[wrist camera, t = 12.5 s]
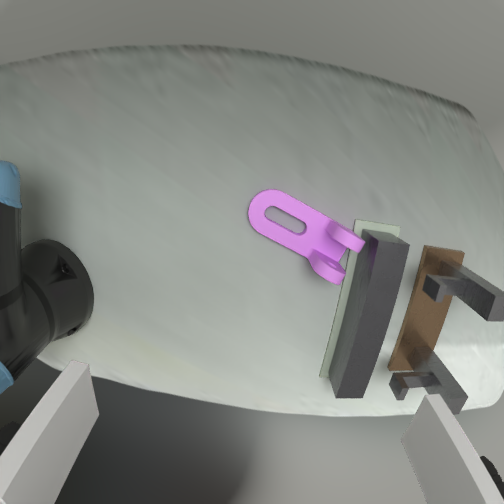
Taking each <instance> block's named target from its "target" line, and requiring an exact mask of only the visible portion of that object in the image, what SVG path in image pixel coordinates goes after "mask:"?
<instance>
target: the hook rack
mask: <svg viewBox="0 0 504 504" xmlns="http://www.w3.org/2000/svg"><path fill="white" fill-rule="evenodd" d="M464 254H465V253H464V252H462V251H458V250H452V249H445V248H439V247H433V246H427V245H424V249H423V253H422V257H421V261H420V265H419V269H418V273H417V277H416V281H415V284H414V288H413V291H412V295H411V298H410V302H409V305H408V308H407V312H406V315H405V318H404V321H403V324H402V327H401V330H400V333H399V336H398V339H397V342H396V345H395V348H394V351H393V353H392V356H391V359H390V362H389V364H388V369H389V371H400V370H413V371H414V372H402V373H393V375H392V378H391V380H390V383H389V386H390V387H391V389H392V391H393V393H394V395H395V397H396V399H397V400H404V398H405V396H406V394H407V391H408V389H409V388H415V387H424V388H425V389H426V391H427V393H428V394H429V395H432V394H440V396H441V397H442V399H443V400H444V402H445V403H446V405H447V406H448V408H449V409H450V411H451V412H452V414H453V415H454V414H459V412H460V411H461V409H462V407H463V406H464V404H465V402H466V400H467V398H468V396H467V394H466V393H465V392H464V390H463V389H462V388H461V386H460V385H459V384H458V382H457V381H456V380H455V378H454V377H453V376H452V374H451V373H450V372H449V370H448V369H447V368H446V367H445V365H444V364H443V363H442V361H441V360H440V359H439V358H438V356H437V355H436V354H435V353H434V351H433V350H434V347H435V345H436V342H437V340H438V337H439V334H440V332H441V329H442V326H443V323H444V321H445V318H446V315H447V312H448V309H449V306H450V303H451V300H452V296H453V295H454V296H457V297H458V298H460V299H461V300H462V301H463V302H465V303H466V304H467V305H468V306H469V307H471V308H472V309H473V310H474V311H476V312H477V313H478V314H479V315H480V316H481V317H483V318H484V319H485V320H486V321H503V320H504V292H503V291H502V290H500V289H499V288H497V287H496V286H494V285H493V284H491V283H489V282H488V281H486V280H485V279H483V278H482V277H480V276H479V275H477V274H475V273H474V272H472V271H471V270H469V269H467V268H466V267H464V266H463V265H462V262H463V258H464Z"/></svg>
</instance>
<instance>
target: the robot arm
mask: <svg viewBox="0 0 504 504" xmlns="http://www.w3.org/2000/svg"><path fill="white" fill-rule="evenodd" d="M21 208H22V204H21V203H20V174H19V171H18V169H17V167H16V166H15V165H14V164H12V163H10V162H7V161H2V160H0V394H1V393H2V392H3V391H4V390H5V389H6V388H7V387H10V386H11V385H13V383H14V381H15V380H16V379H17V378H18V377H19V376H20V374H21V373H22V372H23V371H24V370H25V369H26V368H27V367H28V366H29V365H30V363H31V362H32V361H33V360H34V359H35V358H36V357H37V356H38V355H39V354H40V352H41V351H42V350H43V349H44V348H45V347H46V346H47V345H48V344H49V343H50V342H52V341H55V340H58V339H61V338H64V337H67V336H69V335H72V334H74V333H75V332H77V331H78V330H79V329H80V328H81V327H82V326H83V325H84V324H85V323H86V322H87V321H88V319H89V317H90V315H91V313H92V309H93V299H94V298H93V289H92V285H91V281H90V278H89V276H88V273H87V271H86V269H85V268H84V266H83V264H82V263H81V261H80V260H79V259H78V257H77V256H76V255H75V254H74V253H73V252H72V251H71V250H70V249H68V248H67V247H66V246H64V245H62V244H61V243H59V242H56V241H53V240H38V241H36V242H34V243H31V244H29V245H27V246H26V247H24V248H23V249H22V250H21V235H20V212H21ZM98 416H99V412H98V408H97V404H96V399H95V395H94V390H93V385H92V380H91V374H90V369H89V364H85V363H81V362H78V361H74V360H71V362H70V363H69V364H68V365H67V367H66V368H65V369H64V370H63V372H62V373H61V374H60V375H59V377H58V378H57V379H56V381H55V382H54V383H53V384H52V386H51V387H50V388H49V390H48V391H47V392H46V394H45V395H44V396H43V398H42V399H41V400H40V402H39V403H38V404H37V406H36V407H35V408H34V410H33V411H32V412H31V414H30V415H29V417H28V418H27V419H26V421H25V422H24V423H23V425H20V424H18V423H16V422H14V421H12V422H10V423H9V424H7V425H5V426H4V427H2V428H1V429H0V504H54V503H55V501H56V499H57V496H58V494H59V492H60V490H61V488H62V486H63V484H64V482H65V480H66V478H67V476H68V474H69V472H70V470H71V468H72V466H73V464H74V462H75V460H76V458H77V456H78V454H79V452H80V450H81V448H82V446H83V444H84V442H85V440H86V438H87V437H88V435H89V433H90V431H91V429H92V427H93V425H94V423H95V421H96V420H97V417H98ZM401 442H402V444H403V446H404V449H405V451H406V453H407V456H408V458H409V460H410V463H411V465H412V467H413V470H414V472H415V475H416V477H417V479H418V482H419V484H420V487H421V489H422V492H423V494H424V496H425V499H426V502H427V504H504V482H502V479H501V477H500V475H498V472H497V470H496V469H495V467H494V465H493V464H492V463H491V462H490V461H489V460H488V459H487V458H486V457H485V456H481V457H479V456H478V454H477V452H476V451H475V449H474V448H473V446H472V444H471V442H470V441H469V439H468V438H467V436H466V434H465V433H464V431H463V430H462V428H461V426H460V425H459V423H458V422H457V420H456V419H455V417H454V415H453V414H452V412H451V411H450V409H449V408H448V406H447V405H446V403H445V402H444V400H443V399H442V397H441V396H440V394H432V395H425V396H424V398H423V400H422V402H421V404H420V406H419V408H418V410H417V412H416V414H415V415H414V417H413V419H412V421H411V423H410V425H409V426H408V428H407V430H406V431H405V433H404V435H403V437H402V438H401Z"/></svg>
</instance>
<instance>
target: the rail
mask: <svg viewBox="0 0 504 504" xmlns="http://www.w3.org/2000/svg"><path fill="white" fill-rule="evenodd" d="M361 238H362V239H363V240H364V241H365V244H364V246H363V247H362V249H361V251H360V252H359V253H358V255H357V260H356V265H355V269H354V274H353V278H352V283H351V287H350V292H349V296H348V300H347V304H346V308H345V312H344V316H343V320H342V324H341V328H340V332H339V336H338V340H337V343H336V347H335V350H334V354H333V358H332V361H331V364H330V368H329V371H328V374H329V377H330V381H331V384H332V388H333V391H334V394H335V398H363V395H364V393H365V390H366V388H367V385H368V383H369V380H370V377H371V375H372V372H373V369H374V367H375V364H376V361H377V358H378V355H379V352H380V350H381V347H382V344H383V341H384V338H385V335H386V331H387V328H388V325H389V322H390V319H391V315H392V312H393V308H394V305H395V302H396V298H397V294H398V291H399V287H400V283H401V279H402V275H403V272H404V267H405V263H406V259H407V255H408V250H409V246H410V245H409V244H407V243H406V242H404V241H403V240H401V239H399V238H398V237H396V236H395V235H393V234H391V233H388V232H381V231H374V230H368V229H362V234H361Z"/></svg>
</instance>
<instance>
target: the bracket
mask: <svg viewBox="0 0 504 504" xmlns="http://www.w3.org/2000/svg"><path fill="white" fill-rule="evenodd" d="M269 206H276V207H278V208H280V209H281V210H283V211H285V212H287V213H289V214H291V215H293V216H294V217H296V218H298V219H300V220H302V221H304V222H305V224H306V228H305V230H304V231H303V232H302V233H295V232H293V231H291V230H289V229H287V228H285V227H283V226H282V225H280V224H278V223H276V222H274V221H272V220H270V219H268V218H267V217H266V216H265V214H264V212H265V209H266V208H267V207H269ZM248 214H249V220H250V223H251V225H252V226H253V228H254V229H255V230H256V231H257V232H259V233H261V234H262V235H264V236H266V237H268V238H270V239H272V240H274V241H276V242H278V243H280V244H282V245H283V246H285V247H287V248H289V249H291V250H293V251H295V252H297V253H299V254H301V255H302V256H304V257H306V258H307V259H308V260H309V262H310V264H311V266H312V268H313V270H314V271H315V272H316V273H317V274H319V275H320V276H321V277H323V278H325V279H326V280H328V281H330V282H332V283H334V284H337V285H339V284H340V283H341V281H342V280H343V278H344V277H345V275H346V272H345V271H344V269H343V268H342V266H341V265H340V264H339V260H340V259H341V257H342V255H343V254H344V252H345V250H346V249H347V247H348V248H350V249H351V250H353V251H355V252H358V253H359V252H360V251H361V249H362V247H363V246H364V244H365V241H364V240H363V239H362V238H360V237H359V236H358V235H357V234H355V233H354V232H353V231H351V230H350V229H348V228H346V227H345V226H343V225H341V224H339V223H338V222H336V221H334V220H333V219H331V218H329V217H327V216H326V215H324V214H322V213H320V212H319V211H317V210H315V209H313V208H311V207H310V206H308V205H306V204H304V203H302V202H301V201H299V200H297V199H295V198H293V197H292V196H290V195H288V194H286V193H284V192H282V191H280V190H277V189H267V190H263V191H261V192H259V193H258V194H257V195H256V196H255V197H254V198H253V199H252V201H251V203H250V206H249V213H248Z"/></svg>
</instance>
